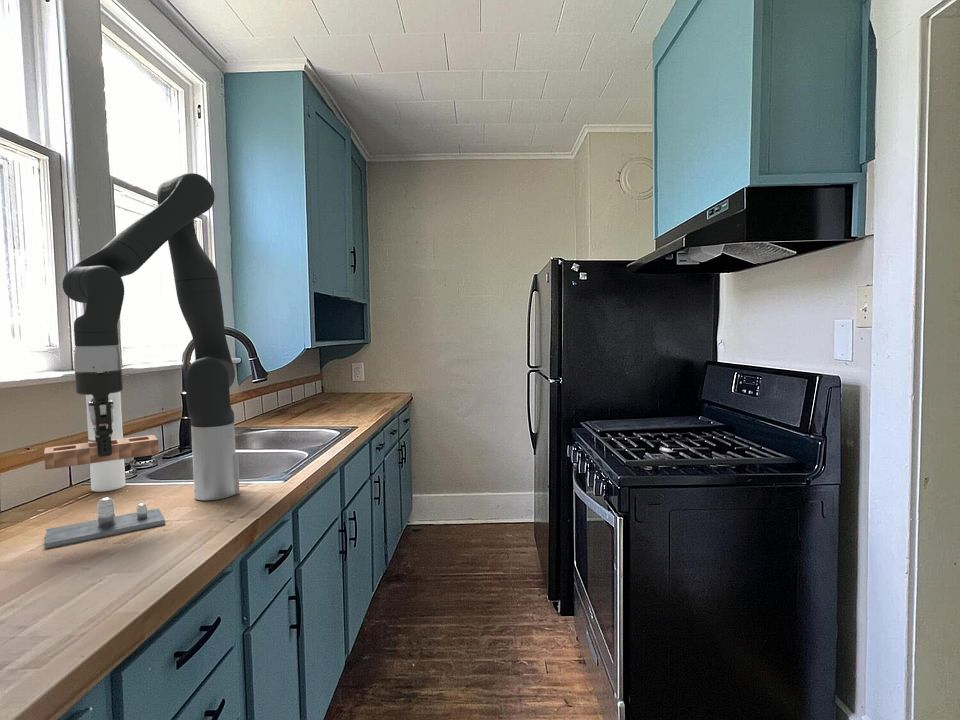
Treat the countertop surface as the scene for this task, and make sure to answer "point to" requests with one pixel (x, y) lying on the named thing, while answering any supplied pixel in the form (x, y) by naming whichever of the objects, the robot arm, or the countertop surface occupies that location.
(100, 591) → the countertop surface
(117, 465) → the cylindrical container
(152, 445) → the wooden block with holes
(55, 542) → the post plate
